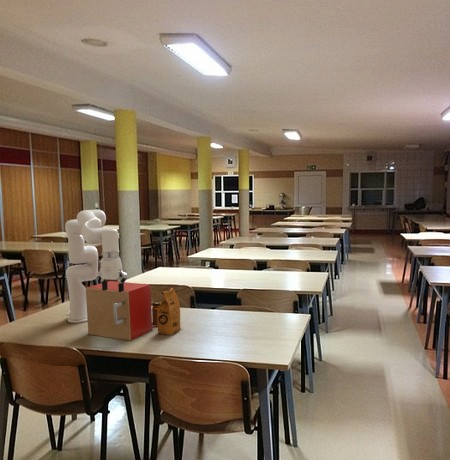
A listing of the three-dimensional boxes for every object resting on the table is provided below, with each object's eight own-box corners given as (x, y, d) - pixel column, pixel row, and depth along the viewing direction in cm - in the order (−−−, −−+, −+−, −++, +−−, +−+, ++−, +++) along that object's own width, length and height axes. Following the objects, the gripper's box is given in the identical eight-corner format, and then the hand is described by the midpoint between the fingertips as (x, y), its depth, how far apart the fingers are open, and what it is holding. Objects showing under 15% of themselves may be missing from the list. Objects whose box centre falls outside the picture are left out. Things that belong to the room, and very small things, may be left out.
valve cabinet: (131, 339, 240) (129, 291, 236) (89, 333, 251) (87, 287, 248) (152, 329, 256) (150, 284, 252) (112, 324, 267) (110, 280, 264)
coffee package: (154, 333, 249) (152, 291, 246) (167, 327, 260) (165, 286, 257) (171, 335, 245) (169, 293, 242) (183, 329, 256) (182, 288, 253)
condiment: (166, 324, 266) (165, 302, 264) (152, 327, 261) (151, 305, 259) (160, 321, 272) (159, 300, 270) (146, 324, 267) (145, 302, 266)
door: (121, 344, 233) (118, 295, 229) (78, 337, 244) (75, 290, 241) (131, 339, 239) (128, 291, 236) (89, 333, 251) (86, 287, 248)
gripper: (91, 255, 229) (93, 291, 231) (120, 256, 221) (122, 293, 224) (101, 253, 236) (104, 288, 238) (130, 254, 228) (132, 290, 230)
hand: (113, 290), depth 231 cm, fingers open, 9 cm apart
